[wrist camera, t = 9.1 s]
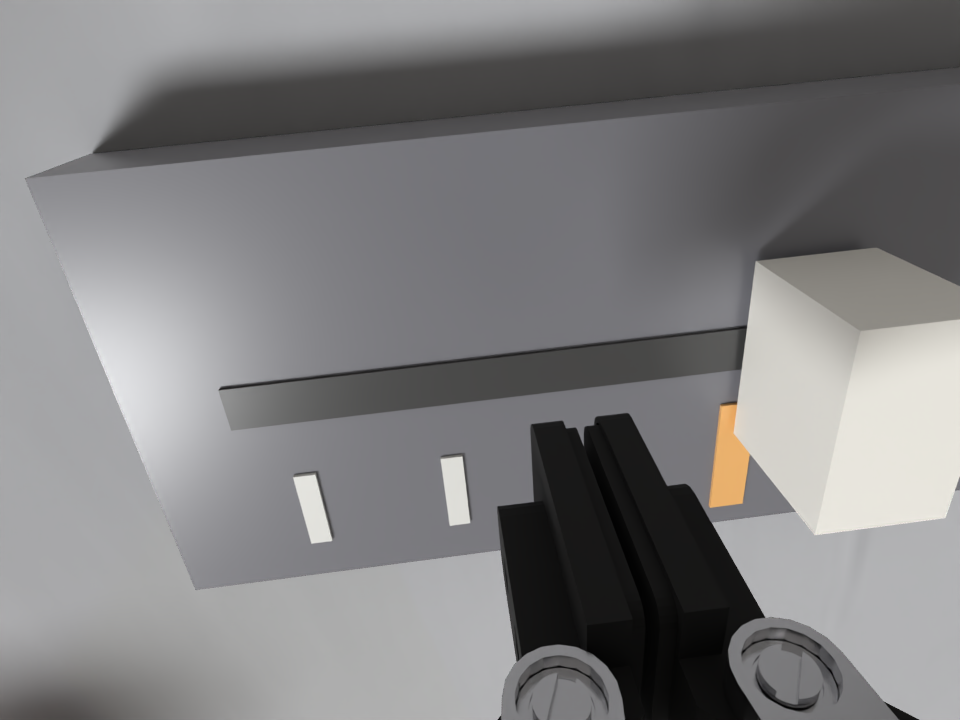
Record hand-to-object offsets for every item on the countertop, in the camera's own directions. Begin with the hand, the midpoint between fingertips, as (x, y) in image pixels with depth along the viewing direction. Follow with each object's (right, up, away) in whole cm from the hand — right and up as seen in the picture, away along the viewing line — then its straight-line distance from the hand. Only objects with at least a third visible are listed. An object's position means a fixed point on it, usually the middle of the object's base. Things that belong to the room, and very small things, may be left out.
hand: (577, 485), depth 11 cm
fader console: (+1, +3, +8) cm, 9 cm away
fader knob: (+7, +3, +5) cm, 9 cm away
